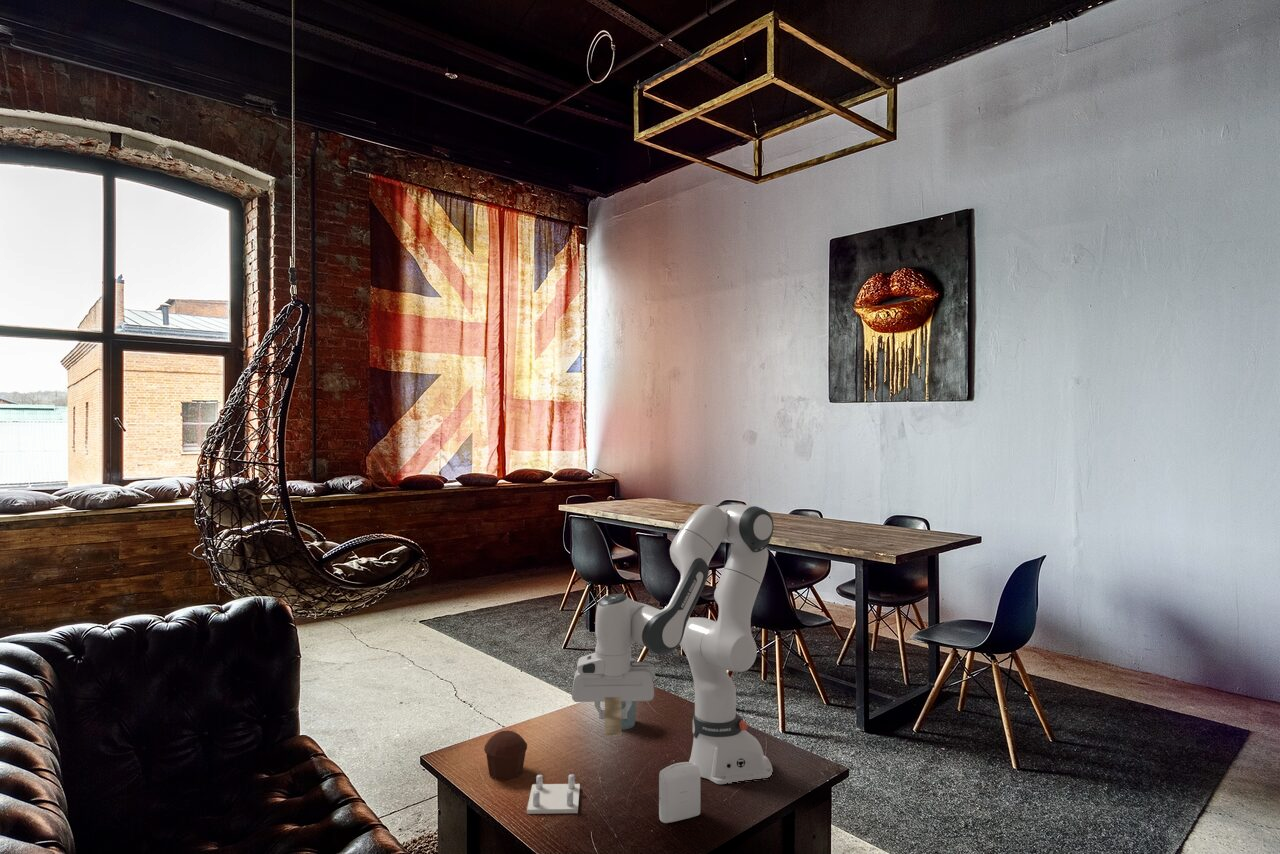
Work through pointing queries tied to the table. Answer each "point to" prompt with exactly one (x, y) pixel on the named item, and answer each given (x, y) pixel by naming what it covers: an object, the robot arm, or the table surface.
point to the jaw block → (613, 716)
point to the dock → (554, 797)
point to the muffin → (505, 755)
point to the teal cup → (628, 716)
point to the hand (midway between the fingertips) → (613, 718)
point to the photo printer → (679, 792)
